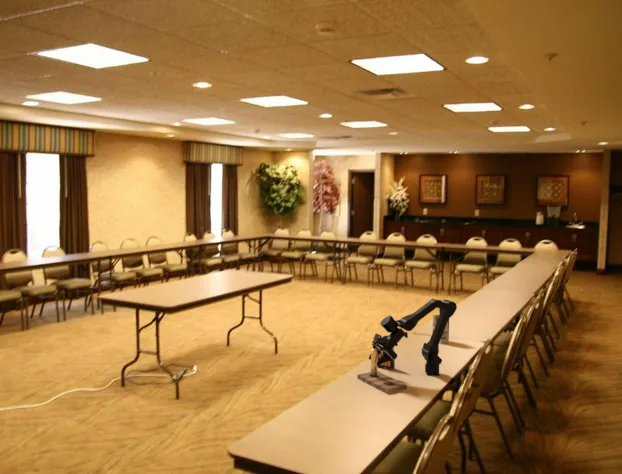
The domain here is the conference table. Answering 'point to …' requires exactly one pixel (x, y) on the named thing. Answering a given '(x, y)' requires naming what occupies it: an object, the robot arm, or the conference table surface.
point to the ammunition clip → (387, 364)
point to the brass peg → (374, 362)
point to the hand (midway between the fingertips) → (373, 361)
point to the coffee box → (446, 332)
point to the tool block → (382, 382)
